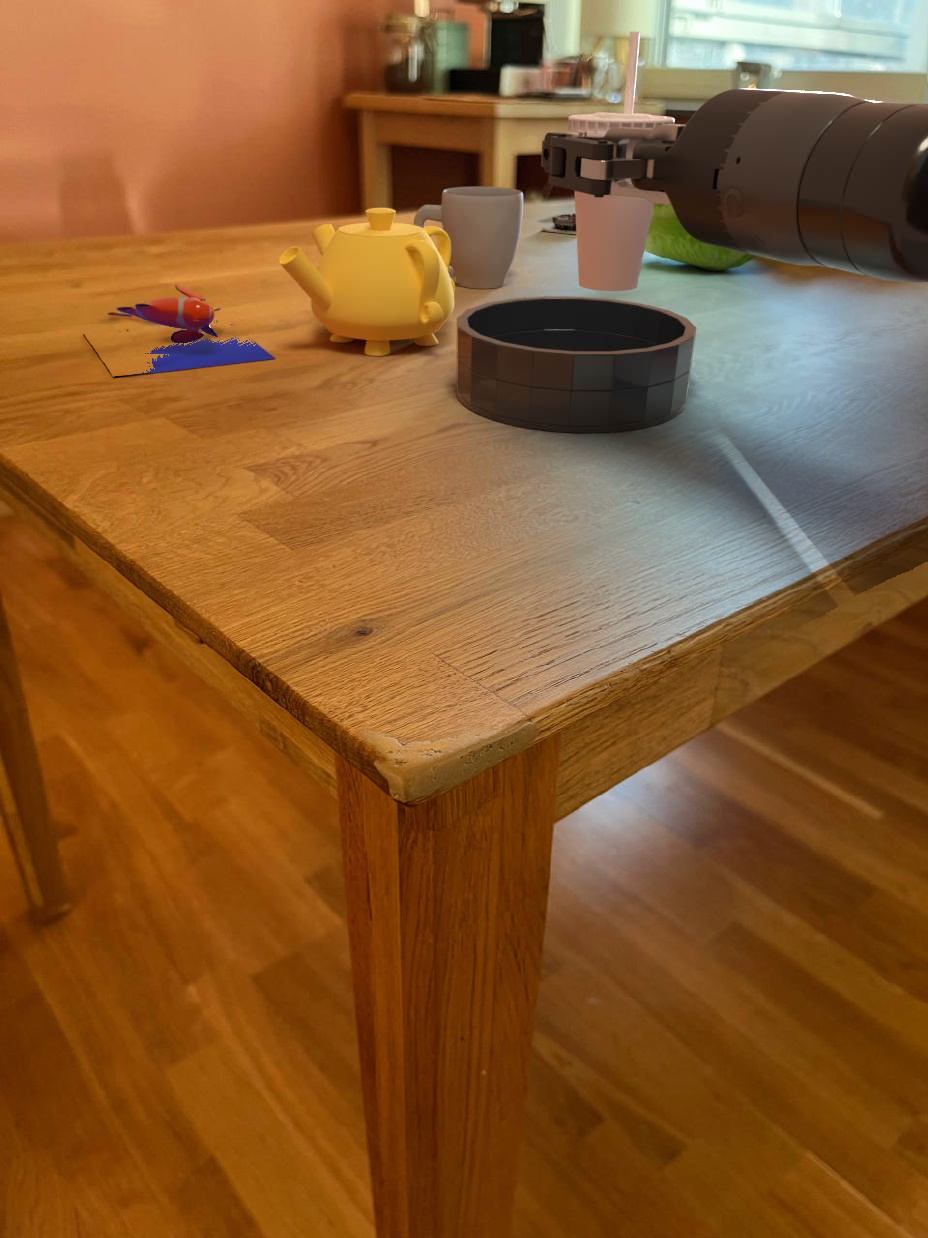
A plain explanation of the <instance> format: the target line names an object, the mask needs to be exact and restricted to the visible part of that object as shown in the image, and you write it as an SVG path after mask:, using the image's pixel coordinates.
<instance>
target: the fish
mask: <svg viewBox="0 0 928 1238" xmlns="http://www.w3.org/2000/svg"><path fill="white" fill-rule="evenodd" d="M174 287H175V289H176V290H177V291H178V292H179V293H181V294H182V295H184V296H166V297H160V298H154V299H151V300H147V301H143V302H141V303H135V305H134V306H118V307H116V311H111V312H110V311H109V312H107V316H110V317H113V318H118V319H121V320H127V321H132V322H137V323H138V322H146V321H147V322H150V323H152V324H156V325H160V326H169V327H174V328H181V329H187V330H180V331H177V332H174V333H173V334H172V336H171V340H172V342H174V343H178V344H179V343H183V344H184V343H188V342H192V341H193V342H195V341H197V340H199V339H201V337H203V336H204V334H202V333H201V332H199V329H201V330H202V331H204V332H205V333H207V334H210V335H212V336H215V337H218V336H217V334H216V333H215V332H214V330H213V329H212V328H211V327H210V325H209V324H210V323H211V322H212V321H214V319H215V312H219V311H221V308H220V307H218V308H215V309H214V308H213V306H211V305H210V304H209V303H207V302H206V301H208V300H207V299H206V298H204V296H202V295H200V294H198V293H196V292H195V291H192V290H191V289H189V288H187V287H185V286H183V285H180V284H175V285H174Z"/></svg>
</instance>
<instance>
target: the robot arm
mask: <svg viewBox="0 0 928 1238" xmlns="http://www.w3.org/2000/svg"><path fill="white" fill-rule="evenodd" d="M578 134H579V135H575V134H567V133H566V132H559V131H558V132H547V133H546V134H545V136H544V139H543V140H541V159H540V160H541V162H540V167H542V168H543V171H544V172H545V173H546V174H548V185H550V186H554V188H563V189H566V190H570V191H578V192H582V193H586V194H590V195H594V197H598V198H602V197H604V195H616V196H627V197H638V198H645V199H647V200H648V202H650V203H652V204H662V205H672V207H673V209H674V212H675V214H676V216H677V219H678V220H679V222H680V224H681V225H682V227H683V228H684V229H685V230H686V232H687V233H688V234H689V235H691V236H692V237H693V238H695V239H696V240H698V241H700V242H702V243H705V244H709V245H713V246H717V247H721V248H725V249H730V250H734V251H738V252H742V253H746V254H751V255H755V256H757V257H759V258H764V259H768V260H773V261H776V262H781V263H783V264H784V263H785V264H790V265H794V266H807V267H808V266H809V267H825V268H832V269H836V270H840V271H845V272H848V273H853V274H857V275H862V276H866V277H871V278H874V279H878V280H879V279H880V280H883V281H889V282H901V283H916V284H917V283H921V284H922V283H928V103H918V102H917V103H916V102H915V103H914V102H900V101H899V102H898V101H897V102H896V101H895V102H894V101H881V100H880V101H875V100H868V99H864V98H860V97H857V96H853V95H850V94H845V93H838V92H837V93H836V92H827V91H826V92H823V91H805V90H802V91H801V90H786V89H785V90H783V89H764V88H763V89H759V88H741V87H740V88H732V89H728V90H725V91H722V92H720V93H717V94H716V95H714V96H712V97H711V98H709V99H708V100H707V101H705V102H704V103H703V104H702V105H700V107H698V108H697V110H696V111H695V112H694V113H693V114H692V116H691V117H690V118H689V120H688V121H687V122H686V124H679V123H674V124H664V125H657V126H656V127H655V128H639V127H616V128H611V129H609V130H608V131H607V133H606V135H605V136H601V135H587V132H579V133H578ZM630 139H641V140H643V141H640V142H638V143H637V144H636V145H635V147H634V149H633V154H632V158H626V151H627V144H628V142H629V140H630ZM629 178H631V183H632V184H629V183H628V182H627V181H626V180H625V179H629Z"/></svg>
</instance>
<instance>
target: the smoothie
mask: <svg viewBox="0 0 928 1238" xmlns="http://www.w3.org/2000/svg"><path fill="white" fill-rule="evenodd" d="M640 36H641V31H629V39H628V40H629V42H628V54H627V66H626V78H625V88H624V89H625V91H624V104H623V112H605V111H602V112H601V111H600V112H597V111H595V112H594V113H584V114H583V113H582V114H572V115H569V116H568V119H567V122H568V123H567V131H566V132H565V133H567V134H575V135H579V134H578V133H579V132H587V135H601V136H605V135H606V133H607V131H608V130H609V129H611V128H616V127H639V128H655V127H656V126H657V125H664V124H675V120H676V119H675V118H674V117H672V116H665V115H652V114H649V113H639V112H637V113H635V112H634V107H635V106H634V105H635V104H634V103H635V95H636V94H635V93H636V83H637V70H638V59H639V49H640ZM640 141H643V140H641V139H630V140H629V142H628V144H627V151H626V158H632V154H633V149H634V147H635V145H636V144H637V143H638V142H640ZM625 180H626V181H627V182H628V183H629V184H632V183H631V178H629V179H625ZM573 191H574V190H573ZM653 207H654V204H652V203H650V202H648V200H647V199H645V198H638V197H627V196H616V195H604V197H602V198H598V197H594V195H590V194H586V193H582V192H578V191H574V208H575V209H574V210H575V213H574V214H576V233H577V235H576V253H577V273H578V286H580V287H581V288H583V289H588V290H592V291H601V292H625V291H632V290H634V289H636V288H637V287H638V283H639V277H640V273H641V268H642V263H643V259H644V254H645V245H646V240H647V236H648V231H649V226H650V222H651V217H652V212H653Z"/></svg>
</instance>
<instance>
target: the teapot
mask: <svg viewBox="0 0 928 1238" xmlns="http://www.w3.org/2000/svg"><path fill="white" fill-rule="evenodd" d="M365 215H366V218H367V221H368V222H358V223H357V222H356V223H350V224H346V225H341V226H340V227H338V229H336V231H335V228H334V227H333V224H331V223H325V224H321V225H319V226H318V227H316V228H315V229H313V231H312V232H311V237H312V238H313V240H314V242H315V244H316V246H317V249H318V251H319V253H320V255H321V257H320V260H319V262H318V264H317V266H316V267H315V266H314V264H313V263H312V262H311V260H310V259H309V258H308V257H307V255H306V254H305V253H304V252H303V251H302V249H301V248H300V247H299V246H298V245H292V246H291V247H289V248H287V249H286V250H285V251H283V253H282V254H281V255H280V257H279V260H278V263H279V265H280V266H281V267H282V268H283V269H284V270H285V272H287V274H289V276H290V277H291V278H292V279H293V280H294V281H295V283H296V284H297V285H298V286H299V287H300V288H301V289H302V290H303V291H304V293H305V294H306V295H307V297H309V298H310V305H311V306H310V307H311V310H312V313H313V315H314V316H315V317H316V318H317V320H318V321H319V322H320V323H321V324H322V325H323V326H324V327H325V329H326V330H328V332H330V333H331V336H330V338H329V341H330V342H332V343H351V342H354V341H355V339H357V340H366V341H365V346H364V351H363V353H364V355H367V356H371V357H372V356H373V357H380V356H381V357H382V356H387V355H389V354H390V353H391V349H390V341H399V340H409V339H412V342H413V344H415V345H417V346H424V347H428V346H429V347H431V346H436V345H438V344H439V341H438V339H437V338H436V336H435V334H434V333H436V332H438V331H439V330H440V329H441V328H442V327H443V326H444V325H445V323H446V322H448V320H449V318H450V317H451V316H452V314H453V312H454V309H455V291H456V283H455V282H454V280H453V278H451V275H450V274H449V267H450V266H449V262H450V256H451V242H450V238H449V236H448V234H447V233H446V232H445V231H444V230H443V228H440V227H438V226H434V225H425V227H423V228H422V227H419V226H416V225H414V224H409V223H402V222H394V220H395V217H396V210H395V209H393V208H390V207H371V208H368V209H366V210H365ZM432 236H434V237H435V238H436V241H437V246H436V245H435V243H434V242H433V239H432V238H431V237H432Z"/></svg>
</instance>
